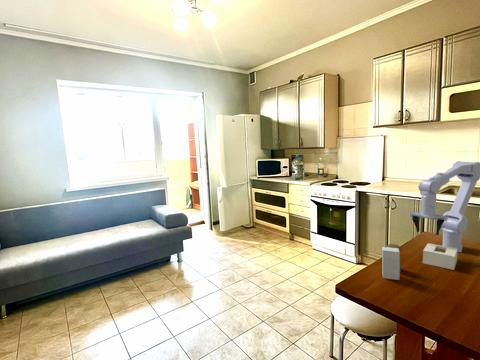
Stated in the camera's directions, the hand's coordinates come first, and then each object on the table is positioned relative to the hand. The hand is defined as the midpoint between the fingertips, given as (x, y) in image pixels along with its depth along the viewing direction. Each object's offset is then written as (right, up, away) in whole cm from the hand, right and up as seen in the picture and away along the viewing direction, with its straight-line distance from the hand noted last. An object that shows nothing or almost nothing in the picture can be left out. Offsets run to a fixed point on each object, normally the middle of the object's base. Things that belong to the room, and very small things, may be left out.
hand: (427, 233), depth 127 cm
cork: (-23, -14, -12) cm, 29 cm away
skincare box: (-28, -15, -18) cm, 36 cm away
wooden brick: (0, -12, -8) cm, 14 cm away
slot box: (0, -12, -8) cm, 14 cm away
